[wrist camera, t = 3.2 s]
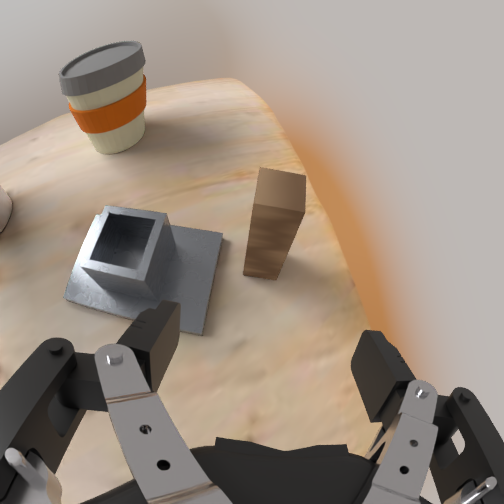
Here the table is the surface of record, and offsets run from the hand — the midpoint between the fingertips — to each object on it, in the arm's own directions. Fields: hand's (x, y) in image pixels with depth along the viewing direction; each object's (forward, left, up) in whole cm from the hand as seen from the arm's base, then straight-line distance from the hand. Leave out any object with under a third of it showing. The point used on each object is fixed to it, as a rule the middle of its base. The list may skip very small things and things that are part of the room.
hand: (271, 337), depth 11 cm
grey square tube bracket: (-14, -3, -15) cm, 21 cm away
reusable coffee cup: (-38, +4, -15) cm, 41 cm away
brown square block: (-7, +8, -15) cm, 19 cm away
